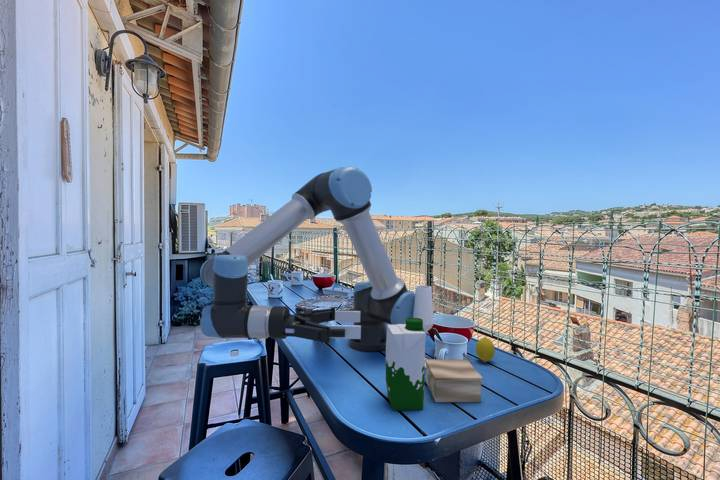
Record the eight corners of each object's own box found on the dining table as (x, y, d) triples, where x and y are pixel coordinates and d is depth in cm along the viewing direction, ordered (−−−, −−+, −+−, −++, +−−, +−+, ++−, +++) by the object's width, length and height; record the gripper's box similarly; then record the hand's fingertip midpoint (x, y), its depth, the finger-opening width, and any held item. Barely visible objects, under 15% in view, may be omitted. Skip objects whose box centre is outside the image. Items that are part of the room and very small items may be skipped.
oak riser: (424, 380, 91) (424, 359, 90) (466, 381, 91) (466, 359, 91) (434, 402, 79) (434, 377, 79) (482, 402, 79) (482, 378, 79)
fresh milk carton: (428, 411, 75) (429, 324, 74) (389, 413, 74) (389, 325, 74) (418, 393, 84) (419, 315, 83) (383, 394, 83) (383, 315, 82)
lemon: (496, 366, 101) (496, 340, 101) (477, 365, 102) (477, 339, 102) (492, 359, 106) (493, 335, 106) (474, 358, 107) (475, 334, 107)
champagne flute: (417, 368, 99) (418, 289, 98) (408, 360, 105) (409, 285, 105) (437, 366, 101) (438, 288, 100) (427, 358, 107) (428, 284, 106)
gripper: (282, 323, 90) (359, 325, 91) (254, 357, 65) (360, 359, 66) (283, 296, 90) (360, 298, 90) (254, 319, 65) (361, 321, 65)
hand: (360, 323), depth 78 cm, fingers open, 13 cm apart
